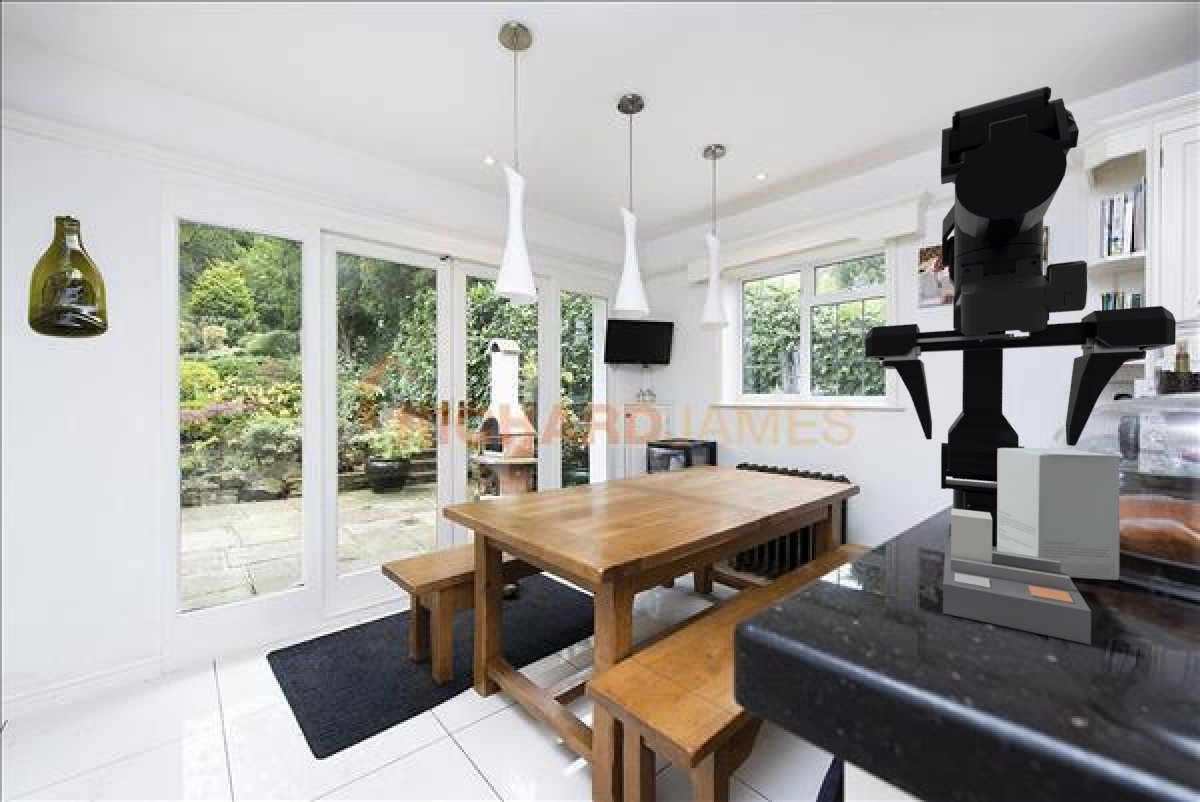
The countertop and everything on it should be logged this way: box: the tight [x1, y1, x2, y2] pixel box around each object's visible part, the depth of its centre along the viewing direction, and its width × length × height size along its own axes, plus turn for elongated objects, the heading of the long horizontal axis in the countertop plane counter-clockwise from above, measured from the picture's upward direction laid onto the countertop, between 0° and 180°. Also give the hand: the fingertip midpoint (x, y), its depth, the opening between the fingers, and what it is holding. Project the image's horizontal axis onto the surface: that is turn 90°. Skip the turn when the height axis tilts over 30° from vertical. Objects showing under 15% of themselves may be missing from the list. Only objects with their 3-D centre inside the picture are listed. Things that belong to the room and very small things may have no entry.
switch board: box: [942, 543, 1092, 646], centre depth 45 cm, size 14×9×4 cm, turn 144°
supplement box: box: [996, 447, 1120, 581], centre depth 53 cm, size 7×7×13 cm
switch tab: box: [950, 507, 993, 564], centre depth 46 cm, size 3×3×5 cm
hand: (995, 442), depth 41 cm, fingers open, 9 cm apart
